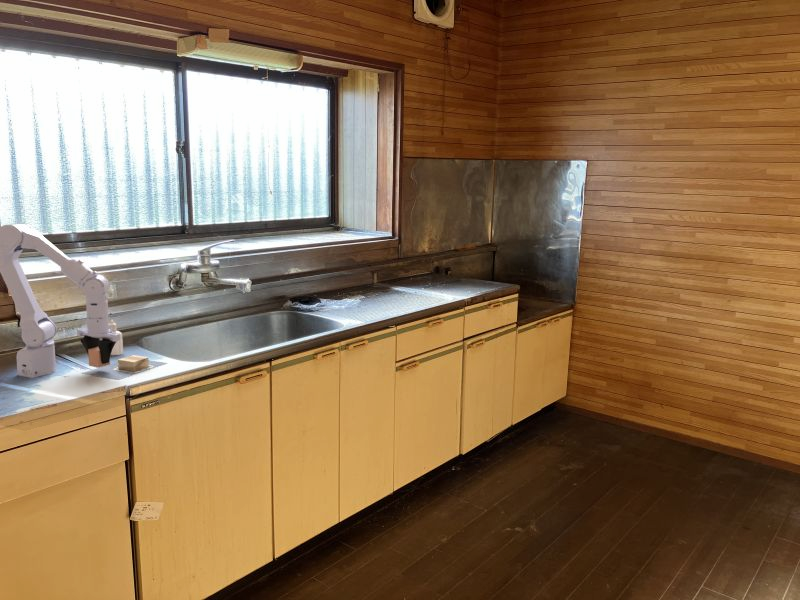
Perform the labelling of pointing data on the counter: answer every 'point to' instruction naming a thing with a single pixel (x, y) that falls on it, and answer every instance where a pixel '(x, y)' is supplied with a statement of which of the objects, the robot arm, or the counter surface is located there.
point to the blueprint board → (119, 371)
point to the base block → (133, 363)
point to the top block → (95, 358)
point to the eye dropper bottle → (119, 344)
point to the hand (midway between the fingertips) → (99, 362)
